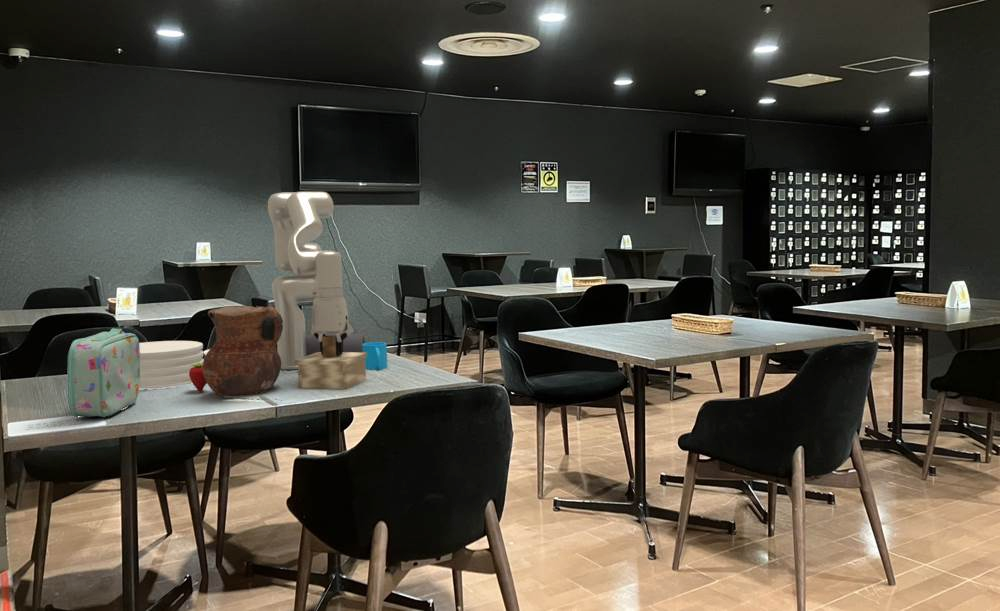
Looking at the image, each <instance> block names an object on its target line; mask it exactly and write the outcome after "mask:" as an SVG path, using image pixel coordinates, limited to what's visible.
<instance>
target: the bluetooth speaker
mask: <svg viewBox="0 0 1000 611" xmlns="http://www.w3.org/2000/svg"><path fill="white" fill-rule="evenodd" d="M305 335H306V356H308V355H311V354H314V353H317V352H320V342H319V341H318V339H317V338H316V337H315V336H314V335H312V334H305ZM327 335H336V333H326V336H327ZM365 343H366V341H365V334H364V333H351V334H350V335H348V336H347V337H346V339H345V340H344V341H343V352H361V353H363V347H362V344H365Z"/></svg>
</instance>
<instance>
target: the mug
mask: <svg viewBox="0 0 1000 611" xmlns="http://www.w3.org/2000/svg"><path fill="white" fill-rule="evenodd" d="M362 347H363V353H367V357H365V365H366V369H367V371H368V370H369V371H371V370H373V371H377V370H385V369H387V368H388V352H387V351H388V350H387V349H388V346H387V343H386V342H377V341H374V342H365V344H362Z"/></svg>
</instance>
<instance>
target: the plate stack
mask: <svg viewBox="0 0 1000 611" xmlns="http://www.w3.org/2000/svg"><path fill="white" fill-rule="evenodd" d="M139 347H140V379H139V388H162V387H170V386H178V385H185V384H191V383H192V381H191V379H190V376H189V371H190V369H191V368H193V367H194V366H191V365H194V364H197V363H199V364H203V361H204V359H205V358H203V357H204V350H203V349H204V344H203V343H202V342H199V341H195V340H194V341H193V340H162V341H146V342H139ZM201 358H202V359H201ZM200 359H201V360H200Z"/></svg>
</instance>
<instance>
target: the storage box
mask: <svg viewBox="0 0 1000 611" xmlns="http://www.w3.org/2000/svg"><path fill="white" fill-rule="evenodd" d="M366 372H367V371H366V365H365V358H363V359H360V360H358V361H355V362H353V363H351V364H348V365H315V364H298V369H297V375H298V376H297V377H298V378H297V380H298V381H297V382H298V389H331V390H332V389H334V390H339V389H340V390H341V389H342V390H348V389H350V388H352V387H354V386H356V385H358V384H359V383H360V384H361V383H362V382H364V381H366V380H367V373H366Z"/></svg>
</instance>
